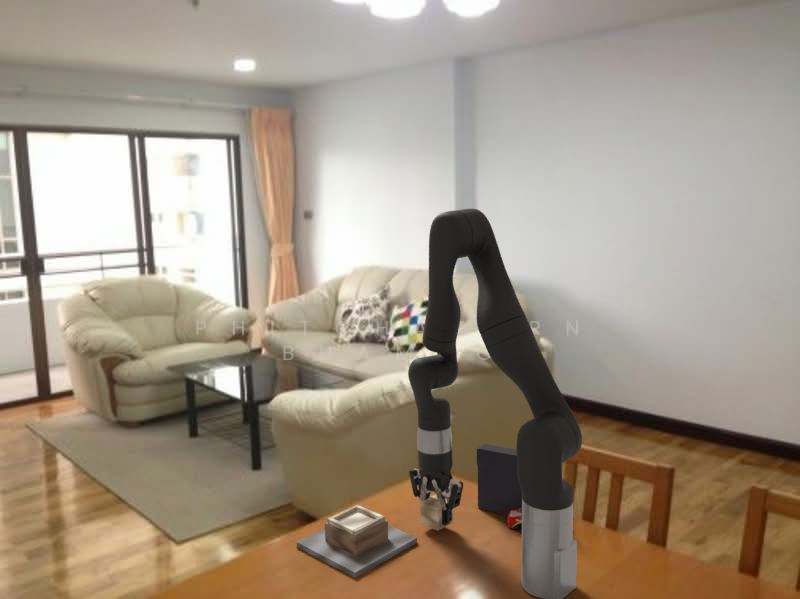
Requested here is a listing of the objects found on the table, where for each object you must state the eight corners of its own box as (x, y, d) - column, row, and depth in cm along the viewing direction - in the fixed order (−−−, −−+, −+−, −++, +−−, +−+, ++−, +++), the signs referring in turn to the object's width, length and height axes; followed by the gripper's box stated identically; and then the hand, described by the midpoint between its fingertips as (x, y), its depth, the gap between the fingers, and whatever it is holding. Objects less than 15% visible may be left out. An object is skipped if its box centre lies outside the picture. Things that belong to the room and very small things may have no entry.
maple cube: (452, 522, 153) (452, 500, 152) (438, 530, 149) (437, 508, 149) (435, 515, 156) (435, 494, 156) (420, 523, 153) (420, 502, 152)
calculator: (527, 512, 160) (528, 450, 158) (521, 519, 157) (521, 456, 154) (484, 502, 166) (483, 442, 164) (476, 509, 162) (476, 448, 160)
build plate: (417, 542, 148) (416, 515, 147) (355, 578, 135) (354, 548, 134) (358, 516, 160) (357, 491, 159) (296, 547, 147) (295, 519, 146)
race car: (567, 524, 155) (568, 507, 154) (568, 536, 150) (568, 519, 149) (508, 519, 158) (508, 502, 157) (506, 530, 153) (506, 513, 152)
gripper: (471, 448, 148) (473, 524, 151) (421, 434, 158) (423, 505, 160) (449, 459, 143) (451, 537, 145) (398, 443, 152) (401, 516, 155)
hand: (436, 519), depth 153 cm, fingers closed on maple cube, 5 cm apart
